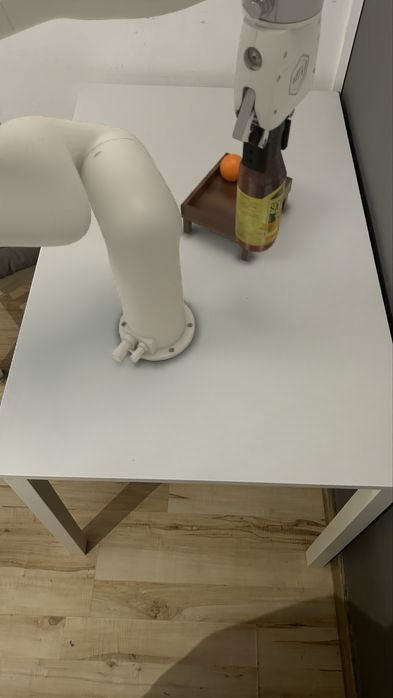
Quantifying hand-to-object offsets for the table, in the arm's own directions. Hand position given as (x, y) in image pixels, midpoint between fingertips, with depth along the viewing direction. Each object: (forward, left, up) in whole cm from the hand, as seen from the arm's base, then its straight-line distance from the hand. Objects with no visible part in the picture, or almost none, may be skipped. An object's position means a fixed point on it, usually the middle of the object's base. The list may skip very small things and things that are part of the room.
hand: (264, 155), depth 61 cm
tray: (+14, +11, -29) cm, 34 cm away
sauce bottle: (0, 0, -15) cm, 15 cm away
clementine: (+19, +14, -24) cm, 34 cm away
